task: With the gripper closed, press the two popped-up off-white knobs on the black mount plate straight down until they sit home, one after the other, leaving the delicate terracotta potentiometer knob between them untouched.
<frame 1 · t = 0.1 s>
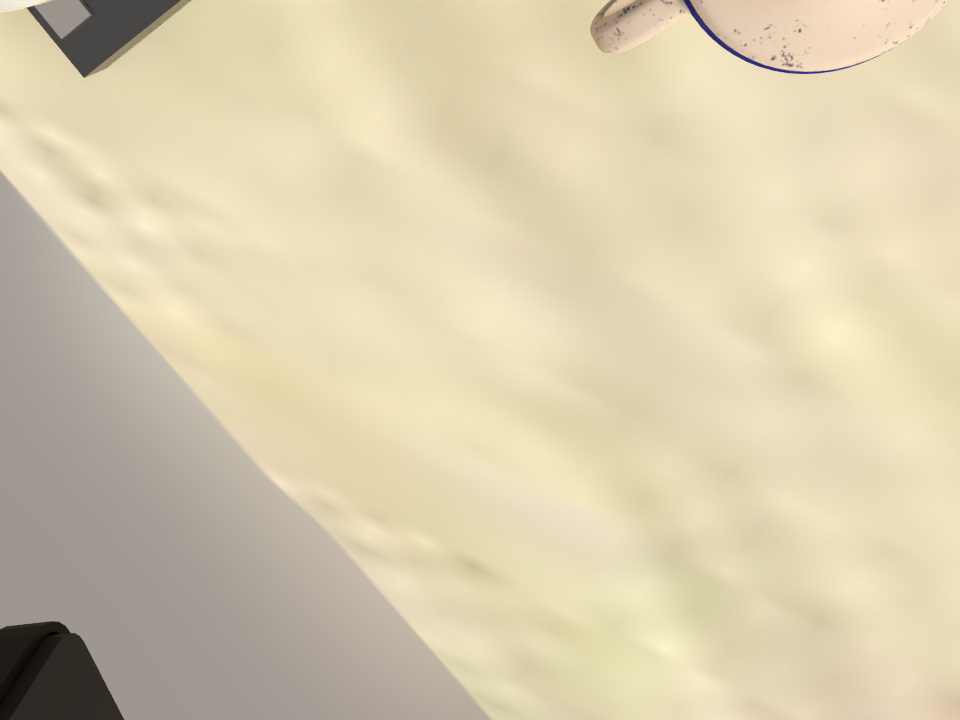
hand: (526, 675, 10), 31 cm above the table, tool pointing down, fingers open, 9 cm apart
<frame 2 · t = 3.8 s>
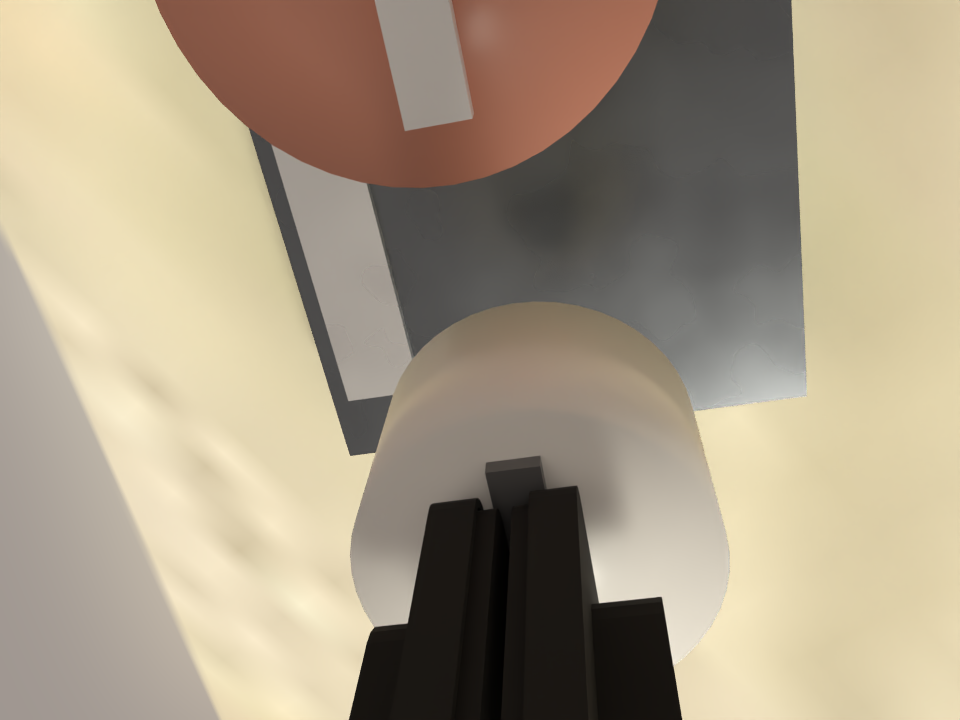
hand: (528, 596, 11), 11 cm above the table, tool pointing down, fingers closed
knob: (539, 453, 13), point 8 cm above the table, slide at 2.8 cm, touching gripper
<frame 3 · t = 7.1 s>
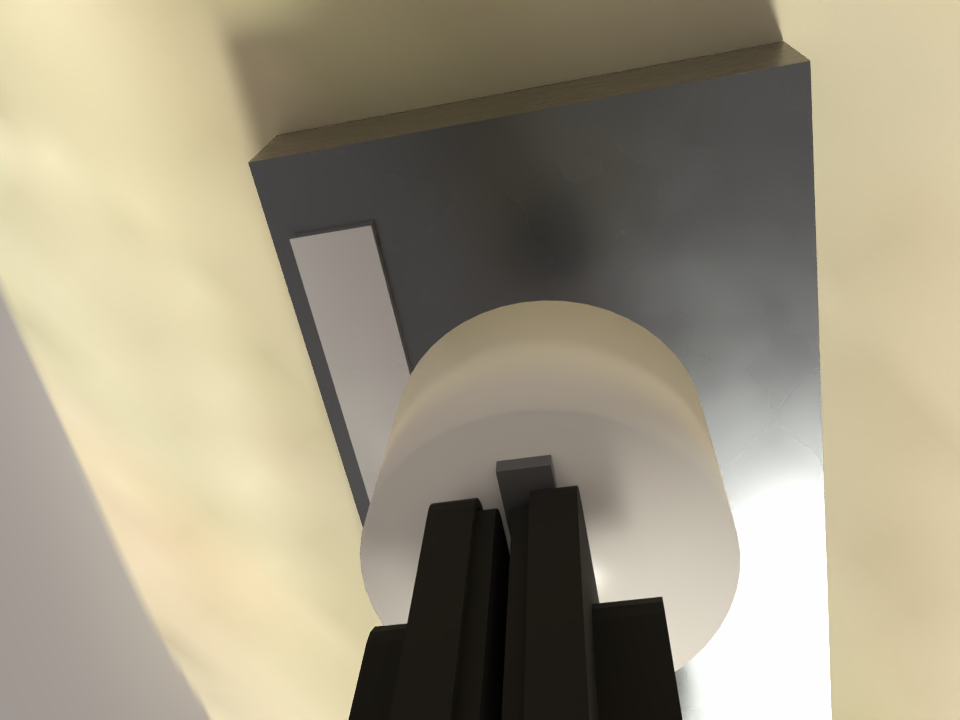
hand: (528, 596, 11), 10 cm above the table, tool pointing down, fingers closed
mount plate: (593, 519, 23), on the table
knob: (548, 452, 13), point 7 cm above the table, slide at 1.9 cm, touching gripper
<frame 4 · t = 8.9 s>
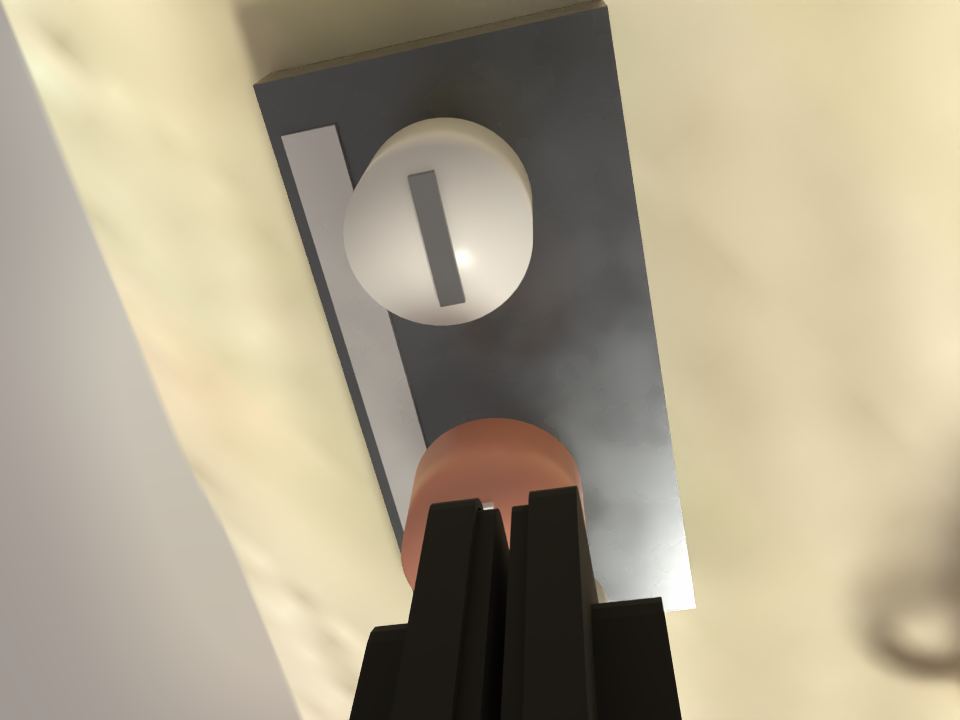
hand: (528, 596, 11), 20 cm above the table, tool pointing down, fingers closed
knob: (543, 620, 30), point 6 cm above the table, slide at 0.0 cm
mount plate: (504, 353, 31), on the table
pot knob: (497, 497, 24), point 8 cm above the table, slide at 3.0 cm
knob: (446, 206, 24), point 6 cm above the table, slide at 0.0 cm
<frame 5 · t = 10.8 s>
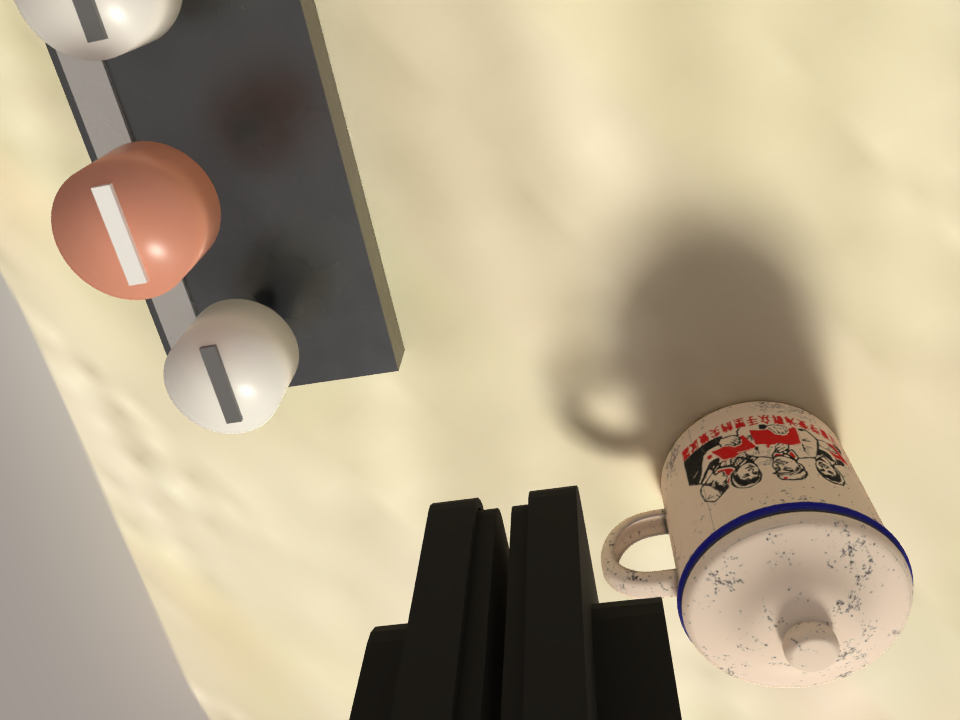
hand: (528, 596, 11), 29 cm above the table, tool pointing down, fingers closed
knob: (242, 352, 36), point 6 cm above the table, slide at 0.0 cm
mount plate: (229, 144, 38), on the table
teacup with lid: (719, 476, 44), on the table
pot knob: (152, 209, 31), point 8 cm above the table, slide at 3.0 cm
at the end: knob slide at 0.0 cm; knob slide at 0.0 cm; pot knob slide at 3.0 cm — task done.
